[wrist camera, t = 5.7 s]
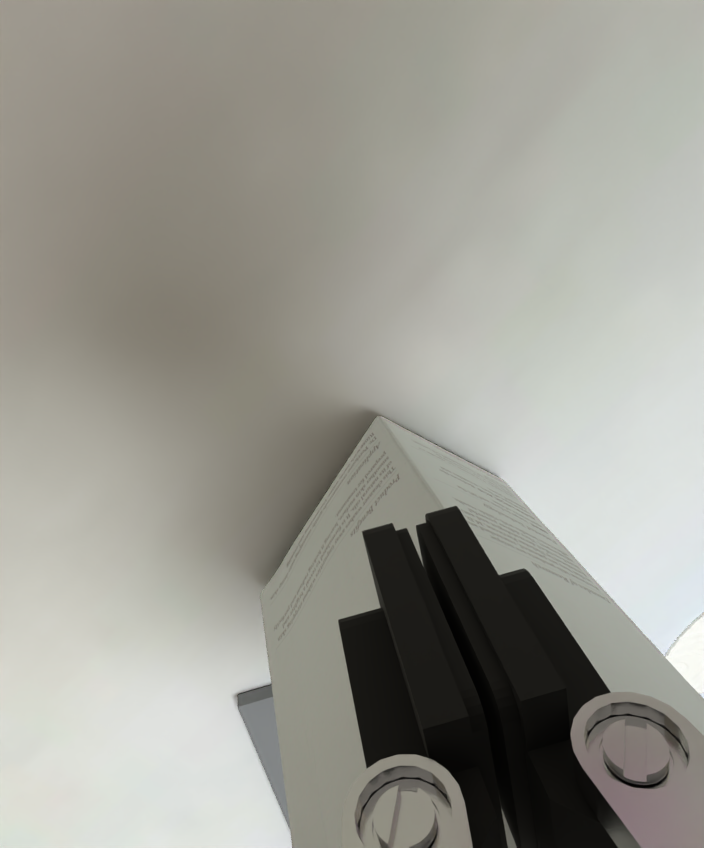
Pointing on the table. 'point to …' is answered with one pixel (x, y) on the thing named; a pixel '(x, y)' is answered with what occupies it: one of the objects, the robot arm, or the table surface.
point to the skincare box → (355, 593)
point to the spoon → (690, 654)
